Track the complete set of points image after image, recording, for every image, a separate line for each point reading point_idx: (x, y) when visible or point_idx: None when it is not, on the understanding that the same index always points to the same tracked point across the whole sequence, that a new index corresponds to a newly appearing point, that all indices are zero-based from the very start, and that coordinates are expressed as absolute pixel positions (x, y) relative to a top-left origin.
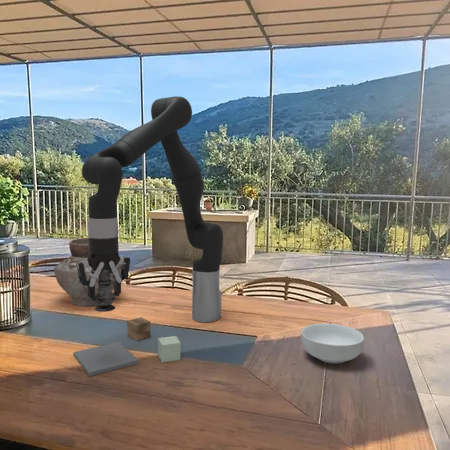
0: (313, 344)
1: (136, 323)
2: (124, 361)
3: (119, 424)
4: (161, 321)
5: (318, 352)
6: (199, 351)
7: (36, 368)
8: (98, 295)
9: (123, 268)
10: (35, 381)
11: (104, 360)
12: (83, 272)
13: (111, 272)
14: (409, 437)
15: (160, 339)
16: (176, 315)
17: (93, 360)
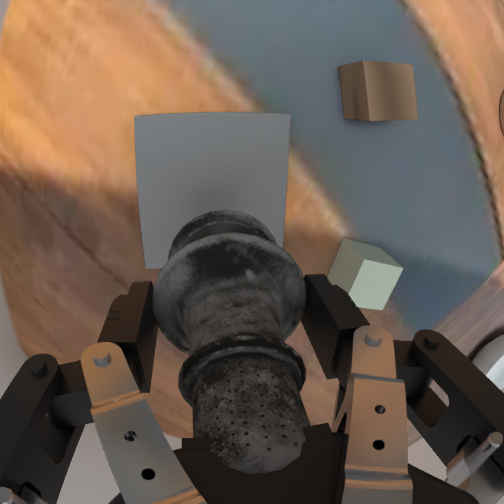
0: None
1: (377, 104)
2: None
3: (166, 409)
4: (451, 48)
5: None
6: (414, 267)
7: (40, 157)
8: (180, 332)
9: (443, 427)
10: (37, 227)
11: None
12: (45, 494)
13: (343, 421)
14: None
15: (362, 271)
16: (487, 48)
17: (171, 206)
